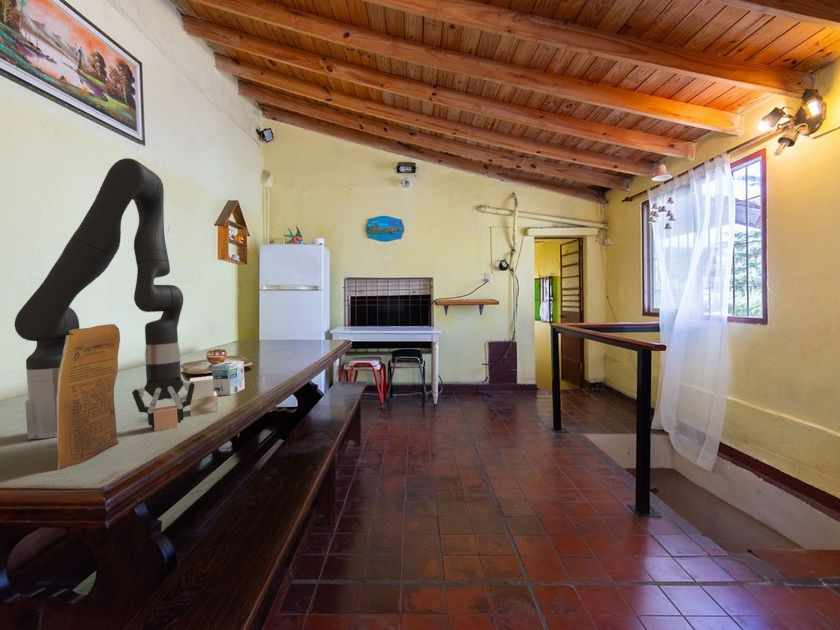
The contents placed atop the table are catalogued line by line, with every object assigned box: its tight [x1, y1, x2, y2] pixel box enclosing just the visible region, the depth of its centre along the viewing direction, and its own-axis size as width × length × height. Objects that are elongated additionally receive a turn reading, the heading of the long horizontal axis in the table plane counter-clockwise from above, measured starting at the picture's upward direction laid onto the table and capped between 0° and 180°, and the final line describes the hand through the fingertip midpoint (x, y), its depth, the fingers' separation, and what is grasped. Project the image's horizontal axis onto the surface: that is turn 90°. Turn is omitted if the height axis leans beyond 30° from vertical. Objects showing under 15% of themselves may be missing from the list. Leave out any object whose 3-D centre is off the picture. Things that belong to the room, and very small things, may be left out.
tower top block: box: [189, 375, 214, 398], centre depth 113 cm, size 6×6×5 cm
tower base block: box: [189, 391, 219, 417], centre depth 114 cm, size 7×7×5 cm
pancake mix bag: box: [56, 323, 121, 470], centre depth 82 cm, size 7×19×28 cm, turn 7°
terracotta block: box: [153, 404, 179, 432], centre depth 99 cm, size 5×5×5 cm
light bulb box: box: [211, 360, 246, 396], centre depth 138 cm, size 11×7×11 cm, turn 179°
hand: (166, 424), depth 100 cm, fingers closed on terracotta block, 5 cm apart
